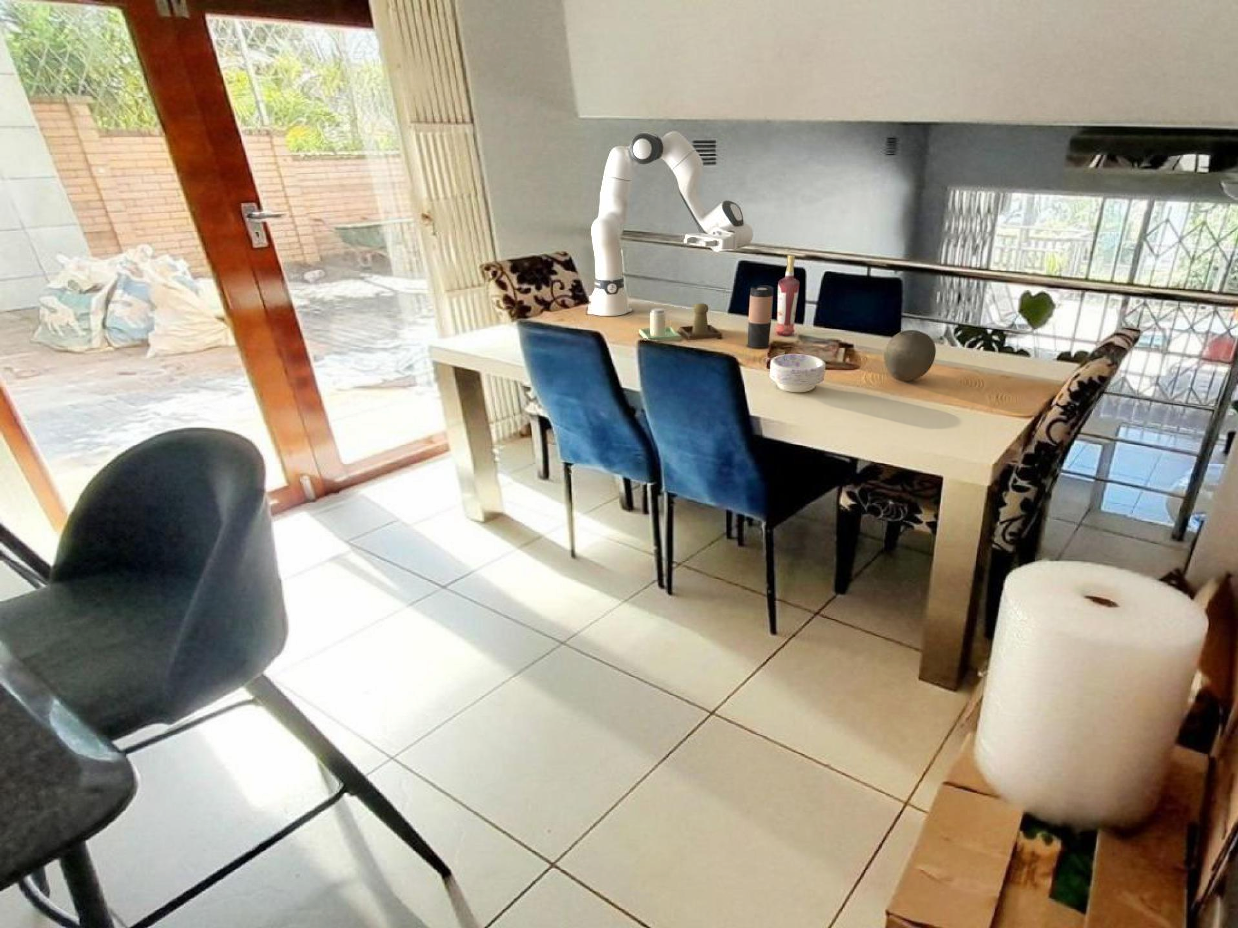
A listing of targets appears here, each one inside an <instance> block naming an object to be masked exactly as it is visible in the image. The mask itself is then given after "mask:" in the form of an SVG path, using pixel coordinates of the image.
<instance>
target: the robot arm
mask: <svg viewBox="0 0 1238 928" xmlns="http://www.w3.org/2000/svg"><path fill="white" fill-rule="evenodd" d="M657 160H662V161H664V162H665V163H666V164H667V166H668V167H669V169H671V171H672V173H673V174H674V176H675V178H676V180H677V184H678V185H677V190H678V193H679V195H680V197H681V199H682V201H683V203H684V205H685V206H686V208H687V210H688V212H689V213H690V216H691V218H692V219H693V221H694V222H695V224H696V227H697V230H698V232H692V233H691V232H690V233H686V234H685V235H684V239H683V244H685V245H690V246H691V245H692V246H698V247H704V248H710V249H712V251H713V252H717V253H719V252H726V251H731V252H732V251H733V252H735V251H737V250H738V249H742V248H745V247H747V246H748V245H750V243H751V242H752V240H753V237H754V231H753V228H752V227H751V225H749V224H748V223H747V222H746V221H745V220H744V216H743V211H742V209H741V207H740V206H739V205H738V204H737V203H736V202H734V201H731V200H724V201H722V202H721V203H720V204H718V205H717V206H716V207H715V208H713V210H711V211H710V212H708V211H707V210H706V208H705V207H704V205H703V203H702V201H701V200H700V198H699V195H698V191H697V189H698V185H699V182H700V181H701V178H702V176H703V173H704V161H703V159H702V157H701V155H700V154H699V153H698V151H697V150H696V149H695V147H694V146H693V145H692V144H691V143H690V141H688V139H686V138H685V137H684V136H683V135H682V134H681V133H680V132H679V131H676V130H673V131H668V133H666V134H665V135H663V136H661V137H659V136H658V135H657V134H656V133H654V132H652V131H651V132H650V131H642V132H640V133H637V134H636V135H635V136H633V138H632V139H631V141H630V143H629V145H628V146H626V145H625V146H624V145H617V146H615V147H613V148H612V149H611V151H610V152H609V155H608V158H607V161H606V164H605V168H604V172H603V179H602V183H601V189H600V193H599V210H598V216H597V218H595V219H594V220H593V222H592V225H591V230H590V235H591V241H592V249H593V254H594V267H595V268H594V269H595V271H594V272H595V278H594V282H593V283H594V290H593V292H592V294H590V295H588V301H589V302H590V303H589V304H588V308H587V314H588V315H594V316H602V317H614V316H622V315H625V314H627V313H630V312H633V308H632V307H629V296H628V295H629V294H628V293H629V292H628V291H627V290H626V288H624V287H625V280H624V279H625V278H624V277H623V255H622V250H621V249H622V248H621V237H622V235H623V233H624V230H625V224H626V219H627V211H628V202H629V198H630V192H631V188H632V184H633V183H632V182H633V179H634V177H633V176H634V173H635V170H636V167H637V166H638V165H650V164H652V163H654V162H655V161H657Z"/></svg>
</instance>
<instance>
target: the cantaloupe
mask: <svg viewBox="0 0 1238 928" xmlns="http://www.w3.org/2000/svg"><path fill="white" fill-rule="evenodd" d="M886 345H887V346H886V348H885V350H884V353H883V362H884V365H885V368H886V371H887V372H888V373H889V375H890V376H891V377H893V378H894V379H895V380H897V381H901V382H911V381H914V380H917V379H920V378H922V377H924V375H926V374H927V373H928V372H929V371H930V369H931V367H932V366H933V364H934V362H935V359H936V354H937V349H936V345H935V342H934V340H933V338H932V337H931V336H930V335H929V334H927V333H925V332H923V331H920V330H917V329H906V330H901V331H899V332H898V333H896V334H894V335H893V336H892V337H891V339H890V340H888V343H887V344H886ZM910 380H911V381H910Z"/></svg>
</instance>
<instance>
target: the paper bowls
mask: <svg viewBox="0 0 1238 928" xmlns="http://www.w3.org/2000/svg"><path fill="white" fill-rule="evenodd" d="M826 365H827V364H826V362H825V361H824V360H823V359H821V358H820V357H818V356H814V355H809V354H803V353H788V354H787V353H785V354H780V355H777V356H775V357H773V358H771V360H770V367H769V368H770V371H769V378H770V379H771V380H772V381H773V382H775V384H776V385H777V387H778V388H779V389H781V390H783V391H786V392H789V393H806V392H811V391H812V390H814V389H815V387H816V386H817V385H818V384H821V383H822V382H824V381H825V372H826V367H827V366H826Z"/></svg>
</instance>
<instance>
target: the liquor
mask: <svg viewBox="0 0 1238 928" xmlns="http://www.w3.org/2000/svg"><path fill="white" fill-rule="evenodd" d="M795 260H796V255H795V254H787V255H786V270H785V276H784V277H783V278H781V279H780V280H778V282H777V283H778V284H777V311H776V312H777V313H776V314H777V315H776V328H775V333H776V334H777V335H778V336H782V337H788V336H791V335H792V334H794V333H795V329H794V327H795V319H796V311H797V303H798V299H799V289H800V281H799V280H798V279H796V277H795V276H794V274H795V272H794V270H795V262H796V261H795Z"/></svg>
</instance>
